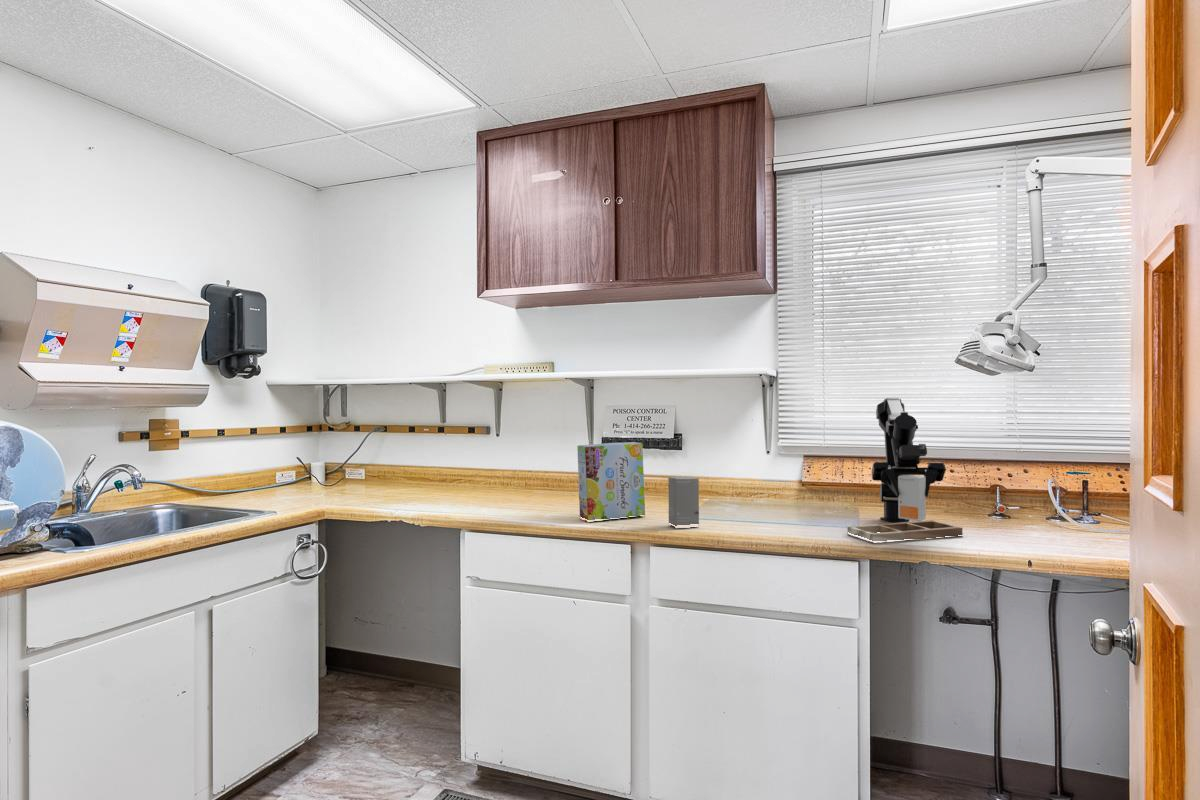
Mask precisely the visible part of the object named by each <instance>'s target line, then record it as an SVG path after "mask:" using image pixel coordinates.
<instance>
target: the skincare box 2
mask: <svg viewBox="0 0 1200 800" xmlns="http://www.w3.org/2000/svg"><path fill="white" fill-rule="evenodd" d="M898 490H899V496H898V518H902V519H908V520H909V521H910V520H911V521H925V520H926V519H927V509H926V508H927V507H926V506H927V505H926V503H927V501H926V499H927V497H926V477H925V476H924V475H901V476H898Z"/></svg>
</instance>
